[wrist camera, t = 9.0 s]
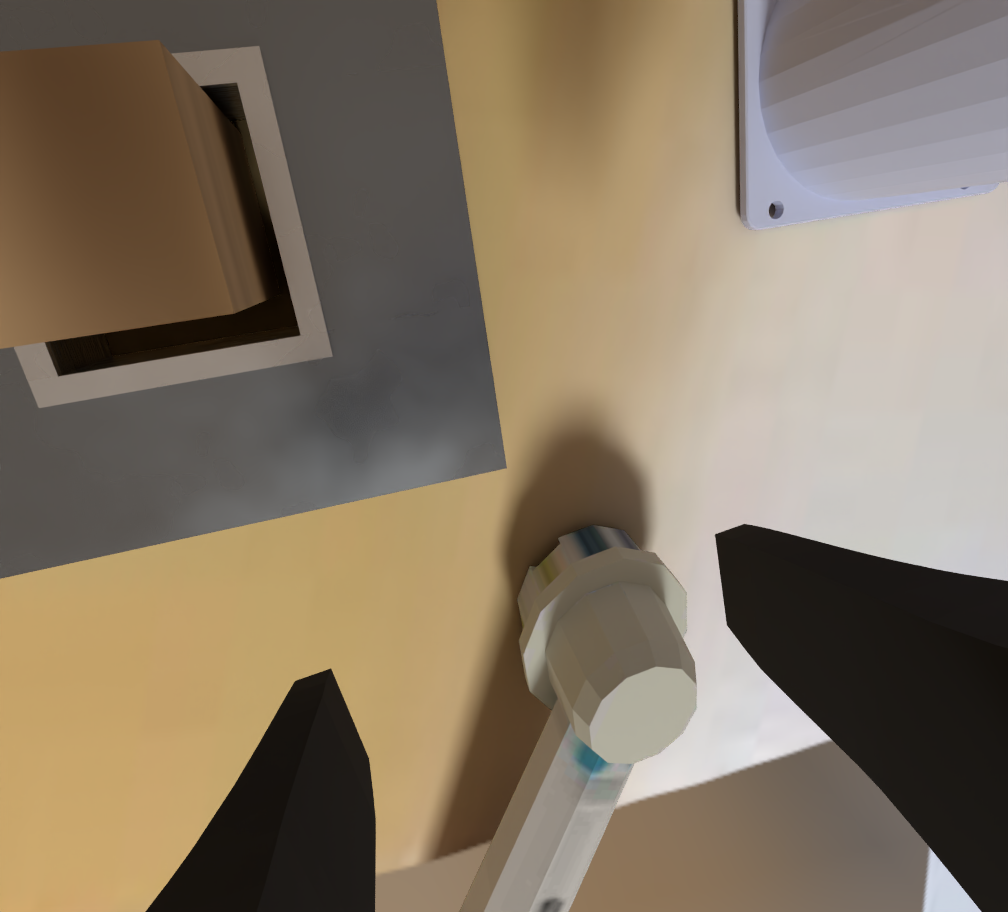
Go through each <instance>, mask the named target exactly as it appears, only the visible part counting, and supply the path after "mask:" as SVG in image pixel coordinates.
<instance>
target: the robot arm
mask: <svg viewBox="0 0 1008 912" xmlns="http://www.w3.org/2000/svg"><path fill="white" fill-rule="evenodd" d="M738 55H739V137H740V216H741V221H742V223H743V225H744V226H745V227H746V228H748V229H749V230H761V229H767V228H773V227H780V226H786V225H792V224H798V223H805V222H811V221H817V220H823V219H830V218H836V217H842V216H848V215H855V214H861V213H867V212H873V211H880V210H886V209H892V208H898V207H905V206H911V205H917V204H923V203H930V202H936V201H942V200H948V199H955V198H961V197H967V196H973V195H980V194H986V193H989V192H992V191H993V190H994V189H995V188H996V187H997V186H998V184H999V183H1002V182H1008V0H738ZM772 203H773V204H774V205H775V209H776V211H775V215H774V216H773V217H772V218H771V217H770V216H769V207H770V205H771V204H772ZM715 537H716V545H717V553H718V560H719V568H720V575H721V583H722V591H723V598H724V606H725V614H726V621H727V626H728V627H729V628H730V630H731V631H732V632H733V634H734V635H735V636H736V638H737V639H738V640H739V642H740V643H741V644H742V646H743V647H744V648H745V650H746V651H747V652H748V653H749V655H750V656H751V657H752V658H753V660H754V661H755V662H756V663H757V665H758V666H759V667H760V668H761V669H762V670H763V671H764V672H765V674H766V675H767V676H768V677H769V678H770V679H771V680H772V681H773V682H774V683H775V684H776V685H777V686H778V687H779V688H780V689H781V690H782V691H783V692H784V693H785V694H786V695H787V696H788V697H789V698H790V699H791V700H792V701H793V702H794V703H795V704H796V705H797V706H798V707H799V708H800V709H801V710H802V711H803V712H804V713H805V714H806V715H807V716H808V717H809V718H811V719H812V720H813V721H814V722H815V723H816V724H817V725H818V726H819V727H820V728H821V729H822V730H823V731H824V732H825V733H826V734H827V735H828V736H829V737H830V738H831V739H832V740H833V741H834V742H835V743H836V744H837V745H838V746H839V747H840V748H841V749H842V750H843V751H844V752H845V753H846V754H847V755H848V756H849V757H850V758H851V759H852V760H853V761H854V762H855V763H856V764H857V765H858V766H859V767H860V768H861V769H862V770H863V771H864V772H865V773H866V774H867V775H868V776H869V777H870V778H871V779H872V781H873V782H874V783H875V784H876V785H877V786H878V787H879V788H880V789H881V790H882V791H883V793H884V794H885V795H886V796H887V797H888V798H889V800H890V801H891V802H892V803H893V804H894V806H896V808H897V809H898V810H899V811H900V813H901V814H902V815H903V816H904V817H905V819H906V820H907V821H908V822H909V823H910V824H911V826H912V827H913V828H914V829H915V830H916V832H917V833H918V834H919V835H920V836H921V837H922V839H923V840H924V841H925V842H926V843H927V845H928V846H929V847H930V848H931V849H932V851H933V852H934V853H935V854H936V856H937V857H938V858H939V859H940V861H941V862H942V863H943V864H944V866H945V867H946V868H947V869H948V871H949V872H950V873H951V874H952V875H953V877H954V878H955V879H956V880H957V882H958V883H959V884H960V885H961V887H962V888H963V889H964V890H965V892H966V893H967V894H968V895H969V897H970V898H971V899H972V900H973V901H974V903H975V904H976V905H977V906H978V908H979V909H980V910H981V911H982V912H1008V581H1004V580H997V579H991V578H984V577H977V576H971V575H964V574H959V573H953V572H947V571H942V570H937V569H932V568H927V567H922V566H918V565H913V564H908V563H903V562H899V561H894V560H890V559H885V558H881V557H877V556H873V555H868V554H864V553H860V552H856V551H852V550H848V549H844V548H841V547H837V546H833V545H829V544H825V543H821V542H818V541H814V540H810V539H806V538H802V537H799V536H795V535H791V534H787V533H783V532H779V531H775V530H771V529H767V528H763V527H758V526H753V525H747V524H743V525H741V526H738V527H735V528H732V529H729V530H726V531H723V532H721V533H718V534H715ZM375 850H376V818H375V808H374V798H373V789H372V780H371V772H370V763H369V758H368V755H367V753H366V751H365V748H364V746H363V743H362V741H361V739H360V736H359V734H358V732H357V729H356V727H355V724H354V722H353V720H352V717H351V715H350V713H349V710H348V708H347V705H346V703H345V701H344V698H343V696H342V694H341V691H340V689H339V686H338V684H337V682H336V679H335V677H334V675H333V672H332V670H331V669H328V670H326V671H323V672H320V673H317V674H314V675H311V676H308V677H305V678H303V679H300V680H297V681H295V682H294V684H293V686H292V687H291V689H290V691H289V692H288V694H287V696H286V698H285V699H284V701H283V703H282V704H281V706H280V708H279V710H278V711H277V713H276V715H275V717H274V718H273V720H272V722H271V724H270V725H269V727H268V729H267V731H266V732H265V734H264V736H263V738H262V739H261V741H260V743H259V745H258V746H257V748H256V750H255V751H254V753H253V755H252V756H251V758H250V760H249V761H248V763H247V765H246V766H245V768H244V770H243V771H242V773H241V775H240V777H239V778H238V780H237V782H236V783H235V785H234V787H233V788H232V790H231V791H230V793H229V794H228V796H227V797H226V799H225V800H224V802H223V803H222V805H221V806H220V808H219V809H218V811H217V812H216V814H215V815H214V817H213V818H212V820H211V822H210V823H209V825H208V826H207V828H206V829H205V831H204V832H203V834H202V835H201V837H200V838H199V840H198V841H197V843H196V844H195V846H194V847H193V849H192V850H191V851H190V853H189V854H188V856H187V857H186V859H185V860H184V861H183V863H182V864H181V865H180V867H179V868H178V870H177V871H176V872H175V874H174V875H173V876H172V878H171V879H170V881H169V882H168V883H167V884H166V886H165V887H164V888H163V890H162V891H161V892H160V894H159V895H158V896H157V897H156V899H155V900H154V901H153V903H152V904H151V905H150V907H149V908H148V909H147V910H146V912H375Z"/></svg>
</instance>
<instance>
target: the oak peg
mask: <svg viewBox="0 0 1008 912" xmlns="http://www.w3.org/2000/svg"><path fill="white" fill-rule="evenodd" d="M280 294H281V293H280V289H279V285H278V281H277V277H276V273H275V269H274V265H273V261H272V257H271V253H270V249H269V245H268V241H267V237H266V233H265V229H264V225H263V221H262V217H261V213H260V209H259V205H258V201H257V197H256V193H255V189H254V184H253V180H252V176H251V172H250V168H249V164H248V160H247V156H246V152H245V148H244V144H243V140H242V136H241V133H240V132H239V131H238V130H237V129H236V128H235V126H234V125H233V124H232V123H231V122H230V121H229V120H228V118H227V117H226V116H225V115H224V114H223V113H222V112H221V110H220V109H219V108H218V107H217V106H216V105H215V104H214V102H213V101H212V100H211V99H210V98H209V97H208V95H207V94H206V93H205V92H204V91H203V90H202V89H201V87H200V86H199V85H198V84H197V83H196V82H195V81H194V79H193V78H192V77H191V76H190V75H189V74H188V73H187V71H186V70H185V69H184V68H183V67H182V66H181V65H180V63H179V62H178V61H177V60H176V59H175V58H174V57H173V55H172V54H171V53H170V52H169V51H168V50H167V48H166V47H165V46H164V45H163V44H162V43H161V42H160V40H151V41H138V42H124V43H111V44H97V45H83V46H70V47H56V48H43V49H29V50H16V51H2V52H0V349H3V348H9V347H16V346H23V345H29V344H36V343H42V342H49V341H56V340H62V339H69V338H75V337H82V336H89V335H95V334H102V333H109V332H115V331H122V330H128V329H135V328H142V327H148V326H155V325H162V324H168V323H175V322H181V321H188V320H195V319H201V318H208V317H215V316H221V315H228V314H234V313H237V312H239V311H242V310H244V309H246V308H249V307H251V306H254V305H256V304H259V303H261V302H263V301H266V300H268V299H271V298H273V297H275V296H278V295H280Z"/></svg>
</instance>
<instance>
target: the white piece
mask: <svg viewBox="0 0 1008 912" xmlns="http://www.w3.org/2000/svg"><path fill="white" fill-rule="evenodd" d="M558 540H559V542H560V544H559V545H558V546H557V547H556V548H555V549H554V550H553V551H552V552H551V553H550V554H549V555H548V556H547V557H546V558H545V559H544V560H543V561H542V562H541V563H540V564H539V565H538V566H537V567H533V566H530V567H529V569H528V572H527V575H526V577H525V580H524V583H523V585H522V588H521V590H520V593H519V596H518V598H517V602H518V605H519V610H520V616H521V622H522V628H523V631H522V633H521V636H520V639H519V645H520V650H521V656H522V662H523V668H524V674H525V678H526V682H527V685H528V688H529V691H530V692H531V693H532V694H533V695H534V696H535V697H536V698H538V699H539V700H540V701H541V702H542V703H544V704H545V705H546V706H547V707H548V708H549V709H551V710H552V712H551V714H550V716H549V718H548V720H547V723H546V725H545V727H544V729H543V731H542V733H541V736H540V738H539V740H538V742H537V744H536V746H535V749H534V751H533V753H532V755H531V757H530V759H529V762H528V764H527V766H526V768H525V770H524V772H523V775H522V777H521V779H520V781H519V783H518V785H517V788H516V790H515V792H514V794H513V796H512V798H511V801H510V803H509V805H508V807H507V809H506V811H505V814H504V816H503V818H502V820H501V822H500V824H499V827H498V829H497V831H496V833H495V835H494V837H493V840H492V842H491V844H490V846H489V849H488V851H487V853H486V855H485V857H484V859H483V861H482V864H481V866H480V868H479V870H478V872H477V875H476V877H475V879H474V881H473V883H472V885H471V887H470V890H469V892H468V894H467V896H466V898H465V901H464V903H463V905H462V907H461V909H460V912H569V909H570V907H571V905H572V903H573V900H574V898H575V896H576V894H577V891H578V889H579V887H580V885H581V882H582V880H583V878H584V876H585V873H586V871H587V869H588V867H589V865H590V862H591V860H592V858H593V855H594V853H595V851H596V849H597V846H598V844H599V842H600V840H601V838H602V835H603V833H604V831H605V829H606V826H607V824H608V822H609V820H610V817H611V815H612V813H613V811H614V808H615V806H616V804H617V802H618V799H619V797H620V795H621V793H622V790H623V788H624V786H625V784H626V781H627V779H628V777H629V775H630V772H631V770H632V768H633V766H634V763H636V762H639V761H641V760H644V759H646V758H649V757H651V756H654V755H657V754H659V753H660V752H662V751H663V750H664V749H665V748H666V747H667V746H669V745H670V744H671V743H672V742H673V741H674V740H676V739H677V738H678V737H679V736H680V735H681V734H683V732H684V730H685V728H686V727H687V725H688V723H689V721H690V719H691V717H692V716H693V714H694V712H695V710H696V696H697V684H696V673H695V662H694V660H693V658H692V656H691V654H690V652H689V650H688V648H687V646H686V644H685V642H684V640H683V637H684V635H685V633H686V631H687V594H686V591H685V590H684V588H683V587H682V586H681V584H680V583H679V582H678V580H677V579H676V578H675V577H674V575H673V574H672V573H671V572H670V571H669V569H668V568H667V567H666V566H665V565H664V563H663V562H662V561H661V560H660V558H659V557H658V556H657V555H656V554H655V553H652V552H646V551H641V550H640V549H639V547H638V546H637V545H636V544H635V543H634V541H633V540H632V539H631V538H630V537H629V536H628V534H627V533H626V532H625V531H624V530H619V529H614V528H608V527H603V526H597V525H591V526H588V527H586V528H583V529H580V530H578V531H575V532H572V533H570V534H567V535H564V536H562V537H559V538H558Z"/></svg>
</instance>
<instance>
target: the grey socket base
mask: <svg viewBox="0 0 1008 912" xmlns="http://www.w3.org/2000/svg"><path fill="white" fill-rule="evenodd" d="M151 40H160V42H161V43H162V44H163V45H164V46H165V47H166V48H167V50H168V51H169V52H170V53H171V54H172V55H173V57H174V58H175V59H176V60H177V61H178V62H179V63H180V65H181V66H182V67H183V68H184V69H185V70H186V71H187V73H188V74H189V75H190V76H191V77H192V78H193V79H194V81H195V82H196V83H197V84H198V85H199V86H200V87H201V89H202V90H203V91H204V92H205V93H206V94H207V95H208V97H209V98H210V99H211V100H212V101H213V102H214V104H215V105H216V106H217V107H218V108H219V109H220V110H221V112H222V113H223V114H224V115H225V116H226V117H227V118H228V120H229V121H231V120H240V119H246V120H247V124H248V128H249V132H250V136H251V140H252V144H253V148H254V152H255V156H256V160H257V164H258V168H259V172H260V176H261V180H262V184H263V188H264V192H265V195H266V199H267V203H268V207H269V211H270V215H271V219H272V223H273V227H274V231H275V235H276V239H277V243H278V247H279V251H280V255H281V259H282V263H283V267H284V271H285V275H286V279H287V283H288V287H289V291H290V295H291V299H292V303H293V307H294V311H295V315H296V318H297V322H298V325H296V326H290V327H284V328H278V329H272V330H266V331H260V332H254V333H248V334H242V335H236V336H230V337H224V338H218V339H212V340H206V341H200V342H194V343H188V344H182V345H176V346H170V347H164V348H158V349H152V350H146V351H140V352H134V353H128V354H122V355H116V356H112V354H111V351H110V348H109V345H108V343H107V340H106V337H105V334H104V333H102V334H95V335H89V336H82V337H75V338H69V339H62V340H56V341H49V342H42V343H36V344H29V345H23V346H16V347H9V348H3V349H0V578H5V577H10V576H14V575H19V574H23V573H28V572H33V571H37V570H42V569H46V568H51V567H56V566H60V565H65V564H69V563H74V562H78V561H83V560H88V559H92V558H97V557H101V556H106V555H111V554H115V553H120V552H124V551H129V550H133V549H138V548H143V547H147V546H152V545H156V544H161V543H166V542H170V541H175V540H179V539H184V538H188V537H193V536H198V535H202V534H207V533H211V532H216V531H221V530H225V529H230V528H234V527H239V526H243V525H248V524H253V523H257V522H262V521H266V520H271V519H276V518H280V517H285V516H289V515H294V514H298V513H303V512H308V511H312V510H317V509H321V508H326V507H331V506H335V505H340V504H344V503H349V502H354V501H358V500H363V499H367V498H372V497H376V496H381V495H386V494H390V493H395V492H399V491H404V490H409V489H413V488H418V487H422V486H427V485H431V484H436V483H441V482H445V481H450V480H454V479H459V478H464V477H468V476H473V475H477V474H482V473H486V472H491V471H496V470H500V469H505V468H507V467H506V460H505V453H504V447H503V440H502V434H501V427H500V420H499V414H498V407H497V401H496V394H495V387H494V381H493V374H492V367H491V361H490V354H489V348H488V341H487V334H486V328H485V321H484V314H483V308H482V301H481V295H480V288H479V281H478V275H477V268H476V261H475V255H474V248H473V242H472V235H471V228H470V222H469V215H468V208H467V202H466V195H465V189H464V182H463V175H462V169H461V162H460V155H459V149H458V142H457V136H456V129H455V122H454V116H453V109H452V103H451V96H450V89H449V83H448V76H447V69H446V63H445V56H444V50H443V43H442V36H441V30H440V23H439V16H438V10H437V3H436V0H0V52H2V51H16V50H29V49H43V48H56V47H70V46H83V45H97V44H111V43H124V42H138V41H151Z"/></svg>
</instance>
